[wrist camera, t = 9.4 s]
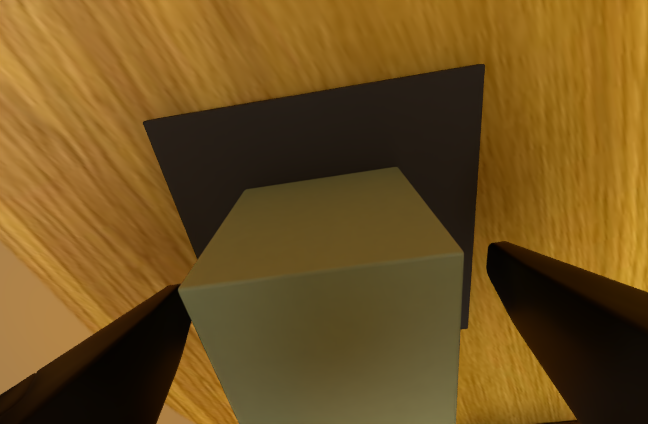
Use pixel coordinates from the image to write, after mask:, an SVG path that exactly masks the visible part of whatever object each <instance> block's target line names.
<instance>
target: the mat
mask: <svg viewBox="0 0 648 424" xmlns="http://www.w3.org/2000/svg"><path fill="white" fill-rule="evenodd" d="M484 73H485V64H477V65H471V66H465V67H459V68H453V69H447V70H441V71H435V72H430V73H424V74H418V75H412V76H406V77H400V78H394V79H388V80H382V81H376V82H370V83H364V84H358V85H353V86H347V87H341V88H335V89H329V90H323V91H317V92H311V93H305V94H299V95H293V96H287V97H281V98H276V99H270V100H264V101H258V102H252V103H246V104H240V105H234V106H228V107H222V108H216V109H210V110H204V111H199V112H193V113H187V114H181V115H175V116H169V117H163V118H157V119H151V120H147V121H144V122H143V125H144V127H145V130H146V132H147V135H148V137H149V140H150V142H151V145H152V147H153V150H154V152H155V155H156V157H157V160H158V162H159V165H160V167H161V170H162V172H163V175H164V177H165V180H166V182H167V185H168V187H169V190H170V192H171V195H172V197H173V200H174V202H175V205H176V207H177V210H178V212H179V215H180V217H181V220H182V222H183V225H184V227H185V229H186V232H187V234H188V237H189V239H190V242H191V244H192V247H193V249H194V252H195V254H196V257H197V259H199V257H200V256H201V254H202V253H203V251H204V250H205V248H206V247H207V245H208V244H209V242H210V241H211V239H212V238H213V236H214V235H215V233H216V232H217V230H218V229H219V227H220V226H221V225H222V223H223V222H224V220H225V219H226V217H227V216H228V214H229V213H230V211H231V210H232V208H233V207H234V205H235V204H236V202H237V201H238V199H239V198H240V196H241V195H242V193H243V192H244V191H245V190H246V189H252V188H259V187H265V186H272V185H279V184H285V183H292V182H298V181H305V180H312V179H318V178H325V177H332V176H338V175H345V174H351V173H358V172H365V171H371V170H378V169H385V168H391V167H398V168H399V170H400V171H401V172H402V173H403V175H404V176H405V177H406V179H407V180H408V181H409V182H410V184H411V185H412V186H413V188H414V189H415V190H416V191H417V193H418V194H419V195H420V197H421V198H422V199H423V200H424V202H425V203H426V204H427V206H428V207H429V208H430V209H431V211H432V212H433V213H434V215H435V216H436V217H437V218H438V220H439V221H440V222H441V224H442V225H443V226H444V227H445V229H446V230H447V231H448V233H449V234H450V235H451V236H452V238H453V239H454V240H455V242H456V243H457V244H458V245H459V247H460V248H461V249H462V251H463V252H464V264H463V285H462V305H461V326H460V329H467V328H468V318H469V302H470V287H471V272H472V256H473V241H474V226H475V211H476V195H477V180H478V165H479V149H480V134H481V119H482V103H483V88H484Z"/></svg>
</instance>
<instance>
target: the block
mask: <svg viewBox="0 0 648 424" xmlns="http://www.w3.org/2000/svg"><path fill="white" fill-rule="evenodd" d="M463 264H464V252H463V251H462V249H461V248H460V247H459V245H458V244H457V243H456V242H455V240H454V239H453V238H452V236H451V235H450V234H449V233H448V231H447V230H446V229H445V227H444V226H443V225H442V224H441V222H440V221H439V220H438V218H437V217H436V216H435V215H434V213H433V212H432V211H431V209H430V208H429V207H428V206H427V204H426V203H425V202H424V200H423V199H422V198H421V197H420V195H419V194H418V193H417V191H416V190H415V189H414V188H413V186H412V185H411V184H410V182H409V181H408V180H407V179H406V177H405V176H404V175H403V173H402V172H401V171H400V170H399V168H398V167H391V168H385V169H378V170H371V171H365V172H358V173H351V174H345V175H338V176H332V177H325V178H318V179H312V180H305V181H298V182H292V183H285V184H279V185H272V186H265V187H259V188H252V189H246V190H245V191H244V192H243V193H242V195H241V196H240V198H239V199H238V201H237V202H236V204H235V205H234V207H233V208H232V210H231V211H230V213H229V214H228V216H227V217H226V219H225V220H224V222H223V223H222V225H221V226H220V227H219V229H218V230H217V232H216V233H215V235H214V236H213V238H212V239H211V241H210V242H209V244H208V245H207V247H206V248H205V250H204V251H203V253H202V254H201V256H200V257H199V259H198V260H197V261H196V263H195V264H194V266H193V267H192V269H191V270H190V272H189V273H188V275H187V276H186V278H185V279H184V281H183V282H182V284H181V285H180V287H179V289H178V292H179V294H180V297H181V299H182V301H183V303H184V305H185V307H186V310H187V312H188V314H189V316H190V318H191V320H192V323H193V325H194V327H195V329H196V331H197V333H198V336H199V338H200V340H201V342H202V344H203V346H204V349H205V351H206V353H207V355H208V357H209V359H210V362H211V364H212V366H213V368H214V370H215V372H216V375H217V377H218V379H219V381H220V383H221V385H222V388H223V390H224V392H225V394H226V396H227V398H228V401H229V403H230V405H231V407H232V409H233V411H234V414H235V416H236V418H237V420H238V422H239V424H456V408H457V387H458V367H459V346H460V326H461V305H462V285H463Z"/></svg>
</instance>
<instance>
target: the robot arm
mask: <svg viewBox="0 0 648 424" xmlns="http://www.w3.org/2000/svg"><path fill="white" fill-rule="evenodd" d="M486 269H487V274H488V276H489V278H490V280H491V282H492V284H493V286H494V288H495V290H496V292H497V294H498V295H499V297H500V299H501V301H502V303H503V305H504V307H505V309H506V311H507V313H508V315H509V316H510V318H511V320H512V322H513V323H514V325H515V327H516V328H517V330H518V331H519V333H520V334H521V336H522V337H523V339H524V340H525V342H526V343H527V345H528V346H529V348H530V349H531V351H532V352H533V354H534V355H535V357H536V358H537V360H538V361H539V363H540V364H541V366H542V367H543V369H544V370H545V372H546V373H547V375H548V376H549V378H550V379H551V381H552V382H553V384H554V385H555V387H556V388H557V390H558V391H559V393H560V394H561V396H562V397H563V399H564V400H565V402H566V403H567V405H568V406H569V408H570V409H571V411H572V412H573V414H574V415H575V417H576V418H577V420H578V421H579V423H580V424H648V292H645V291H642V290H640V289H637V288H634V287H631V286H628V285H626V284H623V283H620V282H617V281H615V280H612V279H609V278H606V277H603V276H601V275H598V274H595V273H592V272H590V271H587V270H584V269H581V268H578V267H576V266H573V265H570V264H567V263H565V262H562V261H559V260H556V259H553V258H551V257H548V256H545V255H542V254H540V253H537V252H534V251H531V250H528V249H526V248H523V247H520V246H517V245H514V244H512V243H509V242H506V241H502V242H495V243H491V244H490V245H489V246H488V254H487V265H486ZM180 285H181V284H174V285H169V286H167V287H165V288H164V289H162V290H161V291H159V292H158V293H156V294H155V295H153V296H152V297H150V298H149V299H147V300H145V301H144V302H142V303H141V304H139V305H138V306H136V307H135V308H133V309H132V310H130V311H129V312H127V313H126V314H124V315H122V316H121V317H119V318H118V319H116V320H115V321H113V322H112V323H110V324H109V325H107V326H106V327H104V328H103V329H101V330H99V331H98V332H96V333H95V334H93V335H92V336H90V337H89V338H87V339H86V340H84V341H83V342H81V343H80V344H78V345H77V346H75V347H74V348H72V349H70V350H69V351H67V352H66V353H64V354H63V355H61V356H60V357H58V358H57V359H55V360H54V361H52V362H50V363H49V364H47V365H46V366H44V367H43V368H41V369H40V370H38V371H37V373H34V374H32V375H30V376H29V377H27V378H26V379H24V380H23V381H21V382H20V383H18V384H17V385H15V386H14V387H12V388H10V389H9V390H7V391H6V392H4V393H3V394H1V395H0V424H156V423H157V421H158V418H159V415H160V413H161V410H162V408H163V405H164V402H165V400H166V397H167V395H168V392H169V389H170V387H171V384H172V382H173V379H174V376H175V374H176V371H177V369H178V366H179V363H180V360H181V357H182V354H183V350H184V346H185V343H186V339H187V335H188V332H189V328H190V324H191V321H192V320H191V318H190V316H189V314H188V312H187V310H186V307H185V305H184V303H183V301H182V299H181V297H180V294H179V292H178V289H179V287H180Z"/></svg>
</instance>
